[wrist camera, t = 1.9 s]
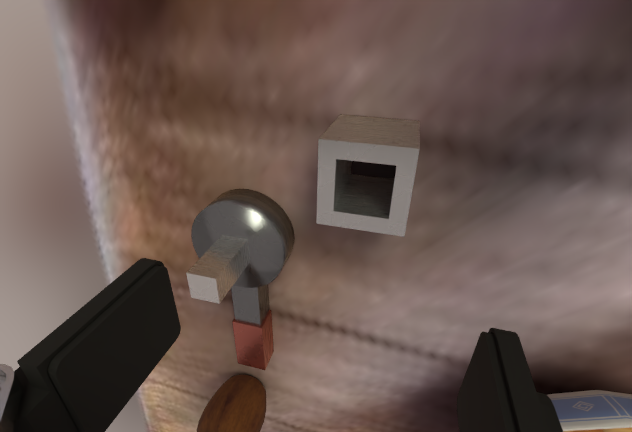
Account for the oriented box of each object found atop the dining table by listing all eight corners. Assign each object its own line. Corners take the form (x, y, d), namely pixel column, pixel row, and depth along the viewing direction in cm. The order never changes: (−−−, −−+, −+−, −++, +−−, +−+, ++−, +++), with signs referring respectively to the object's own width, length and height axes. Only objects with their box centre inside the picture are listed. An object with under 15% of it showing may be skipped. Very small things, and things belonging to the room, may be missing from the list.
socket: (419, 120, 22) (419, 148, 17) (407, 193, 25) (404, 236, 20) (340, 114, 23) (318, 138, 18) (336, 184, 26) (316, 223, 21)
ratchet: (293, 195, 27) (253, 249, 21) (295, 356, 36) (268, 429, 30) (203, 183, 29) (139, 229, 22) (227, 340, 38) (186, 405, 32)
